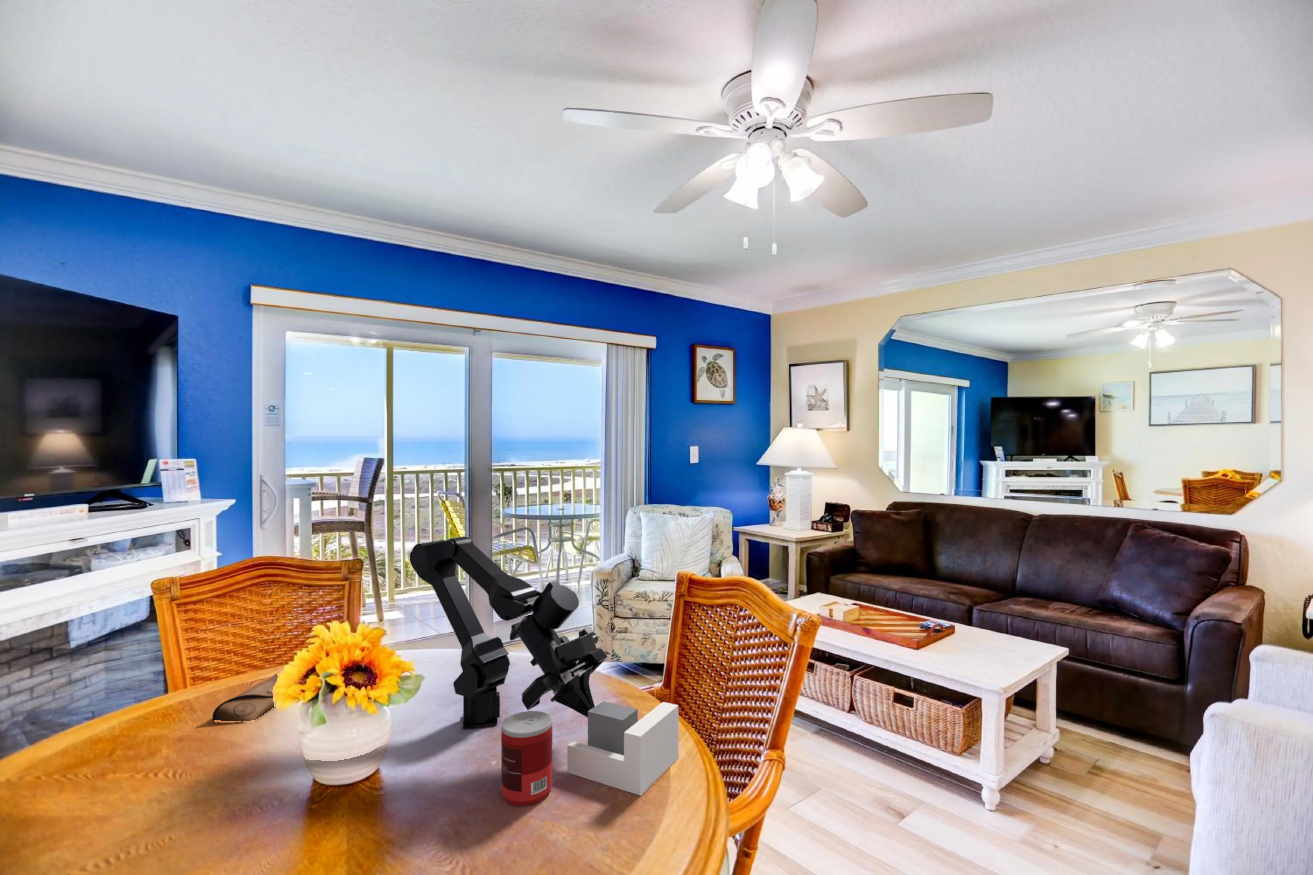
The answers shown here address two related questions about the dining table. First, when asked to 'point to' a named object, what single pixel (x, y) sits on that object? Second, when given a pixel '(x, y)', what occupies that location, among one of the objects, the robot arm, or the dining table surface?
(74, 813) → the dining table surface
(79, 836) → the dining table surface
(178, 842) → the dining table surface
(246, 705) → the sunglasses case
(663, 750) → the socket
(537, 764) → the canned food
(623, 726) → the plug
